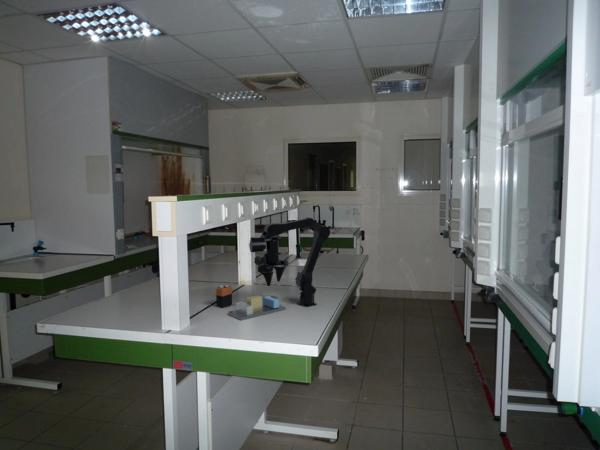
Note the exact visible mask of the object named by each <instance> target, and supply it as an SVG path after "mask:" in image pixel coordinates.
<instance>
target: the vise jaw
mask: <svg viewBox="0 0 600 450" xmlns="http://www.w3.org/2000/svg"><path fill="white" fill-rule="evenodd" d="M262 304H263V305H266V306H269V307H271V308H278V307H279V305H280V299H279V296H276V295H270V296H269V295H266V296H262Z"/></svg>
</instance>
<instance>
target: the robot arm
mask: <svg viewBox="0 0 600 450" xmlns="http://www.w3.org/2000/svg"><path fill="white" fill-rule="evenodd" d="M306 227H307V228H309V229H310V230H311V231H312V232H313V236H312V237H313V238H312V239H313V241H312V245H311V246H310V251H309V253H308V256H307V259H306V262H305V264H304V267H303V269H302V270H301V272H300V271H297V274H296V277H295V278H294V280H295V285H296V287H297V288H299V291H301V292H300V295H299V302H298V303H297V304H298V305H300V306H303V307H307V308H308V307H311V306H316V305H317V304H318V303H316V302H315V294H316V292H317V289H316V288H315V286H314V285H313V272H314V269H315V266H316V263H317V261H318V259H319V255H320V252H321V251H322V248H323V246H324V244H325V243H326V242H327V241H328V239H329V237H330V235H331V229H330V227H328V226H326V225H322V224H321V223H319V222H318V221H316V220H315V219H313V217H309V216H308V217H305V218H301V219H300V218H299V219H296V220H291V221H287V222H286V221H285V222H272V223H271V222H270V223H267V224H266V225H265V226H264V229H263V232H262V233H261V235H260V236H257V237H256V236H255V237H254V236H253V237H251V236H250V240H249V244H248V248H249V251H250V253H259V252H260V253H261V252H264V251H265V250H266V252H264V254H263V256H262V257H261V256H256V257H254V261H253V263H254V264H255V265H256V266H257V267H256V268H257V273H259V274H260V275H262V276H263V278H264V281H265V283H266V285H267V286H268V287H271V283H272V280H273V275H274V270H275V275H276V282H280V281H281V279H282V277H283V274H284V272H285V270H286V268H287V266H288V265H289V263H288V260H287V259H283V258H281V259H280V256H281V254H282V253H281V251H279V246H280V245H279V242H280V241H283V240H284V239H283V238H282V237H281V235H282V234H283V233H286V232H289V231H293V230H297V229H302V228H306Z"/></svg>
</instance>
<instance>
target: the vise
mask: <svg viewBox="0 0 600 450" xmlns="http://www.w3.org/2000/svg"><path fill="white" fill-rule="evenodd" d="M286 308H287V307H286V306H283V305H280V304H279V307H278V308H271V307H269V306H266V305H263V304H262V310H259V311H255V312H253V306H252V305H250V304H247V302H245V301H237V302H235V310H232V311H228V312H227V315H228V316H230V317H233V318H235V319H237V320H240V321H245V320H249V319H252V318H253V319H254V318H257V317H261V315H262V316H265V315H268V314H269V315H270V314H274V313H277V312H281V311H285V310H287V309H286Z"/></svg>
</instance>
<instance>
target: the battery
mask: <svg viewBox="0 0 600 450" xmlns="http://www.w3.org/2000/svg"><path fill="white" fill-rule="evenodd" d="M215 290H216V291H215V299H216V300H215V301H216V307H217V308H222V309H224V308H226V307H230V306H232V305H233V287H232V286H230V285H229V284H225V285H219V286H218V287H216V288H215Z"/></svg>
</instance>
